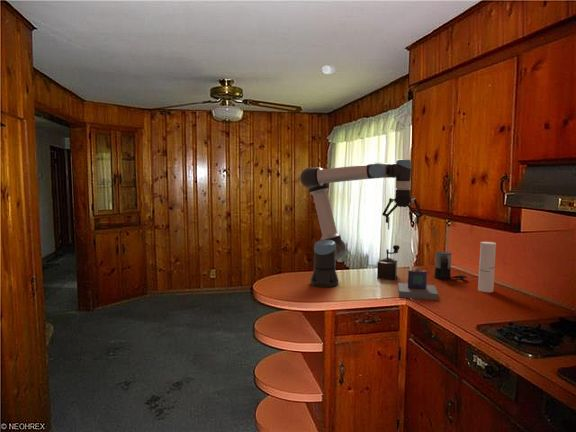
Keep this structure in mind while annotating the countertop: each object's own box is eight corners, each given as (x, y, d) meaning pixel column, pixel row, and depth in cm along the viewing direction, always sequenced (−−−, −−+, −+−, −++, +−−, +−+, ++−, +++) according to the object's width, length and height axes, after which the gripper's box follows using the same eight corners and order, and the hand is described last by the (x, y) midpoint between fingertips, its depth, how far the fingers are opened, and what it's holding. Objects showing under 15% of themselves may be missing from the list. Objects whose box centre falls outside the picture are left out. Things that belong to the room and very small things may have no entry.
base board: (399, 297, 198) (399, 291, 197) (398, 288, 212) (398, 283, 212) (437, 300, 193) (438, 293, 193) (434, 291, 208) (434, 285, 208)
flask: (425, 287, 204) (426, 266, 203) (427, 289, 201) (428, 268, 200) (407, 287, 204) (407, 266, 203) (408, 289, 201) (409, 267, 200)
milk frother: (431, 275, 239) (432, 251, 237) (457, 275, 240) (458, 250, 239) (442, 282, 225) (443, 256, 223) (469, 281, 226) (470, 255, 224)
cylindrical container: (496, 292, 206) (499, 244, 204) (482, 292, 206) (485, 244, 203) (488, 288, 213) (491, 241, 211) (475, 288, 213) (477, 241, 210)
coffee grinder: (396, 280, 228) (397, 249, 226) (376, 278, 232) (377, 247, 230) (399, 274, 243) (400, 244, 241) (380, 272, 247) (381, 243, 245)
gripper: (378, 189, 210) (377, 229, 213) (428, 189, 205) (427, 231, 207) (378, 188, 218) (377, 227, 220) (427, 189, 212) (425, 229, 214)
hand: (401, 229), depth 213 cm, fingers open, 13 cm apart
